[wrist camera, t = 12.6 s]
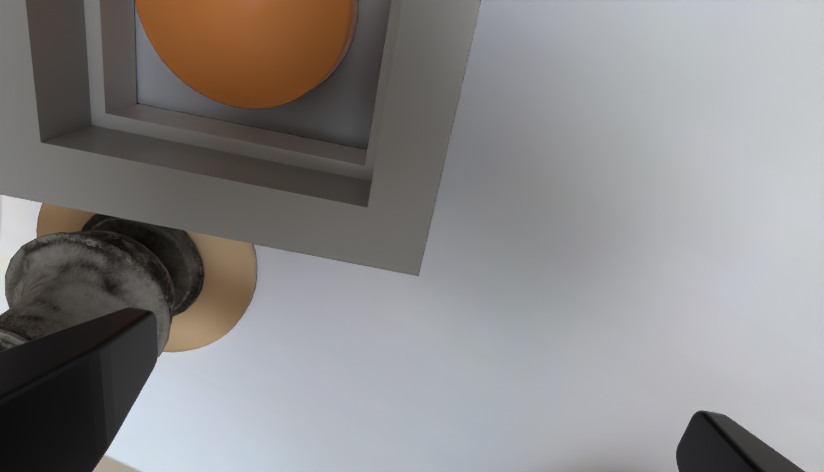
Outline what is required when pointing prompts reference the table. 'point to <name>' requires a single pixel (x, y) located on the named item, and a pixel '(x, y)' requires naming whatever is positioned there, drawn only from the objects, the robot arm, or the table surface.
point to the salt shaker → (99, 277)
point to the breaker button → (250, 45)
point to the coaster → (222, 287)
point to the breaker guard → (228, 138)
